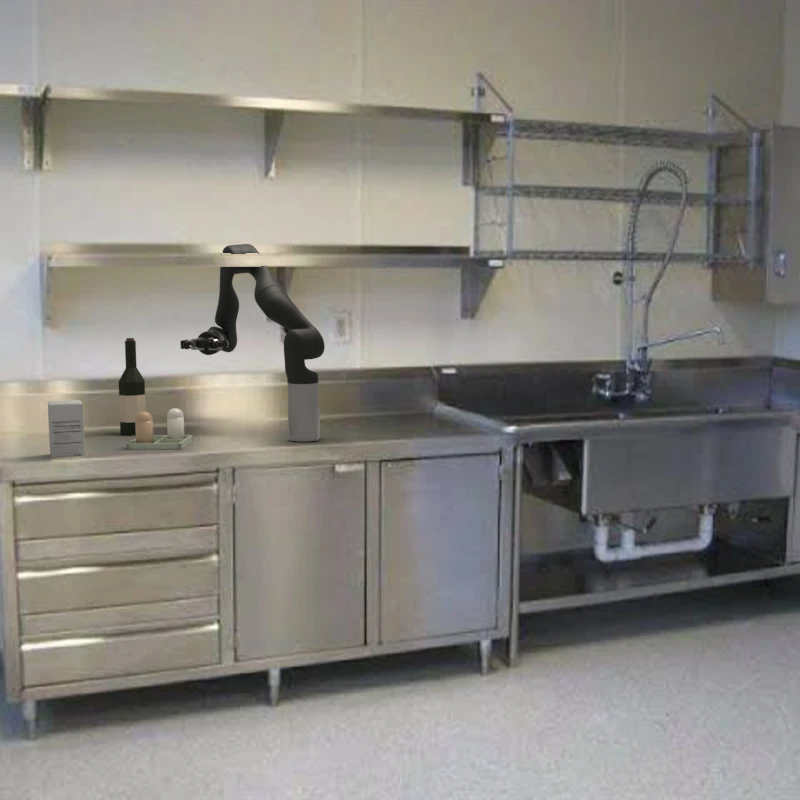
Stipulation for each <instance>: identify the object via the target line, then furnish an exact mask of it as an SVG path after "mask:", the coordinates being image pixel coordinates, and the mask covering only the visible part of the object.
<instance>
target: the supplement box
mask: <svg viewBox="0 0 800 800" xmlns="http://www.w3.org/2000/svg"><path fill="white" fill-rule="evenodd" d="M47 417H48V437H49V438H48V439H49V440H48V441H49V453H50V457H51V459H53V458H59V457H60V458H61V457H75V456H76V457H77V456H78V457H79V456H85V455H86V448H85V423H84V422H85V421H84V403H83V402H82V401H81V399H73V400H72V399H71V400H50V401H47Z"/></svg>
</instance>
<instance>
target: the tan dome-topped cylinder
mask: <svg viewBox="0 0 800 800" xmlns="http://www.w3.org/2000/svg"><path fill="white" fill-rule="evenodd" d="M135 428H136V436H135V438H136V443H153V435H154V422H153V416H152V414H151V413H149V411H142V412H140V413H138V414H137V415H136V418H135Z"/></svg>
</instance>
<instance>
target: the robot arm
mask: <svg viewBox="0 0 800 800" xmlns="http://www.w3.org/2000/svg"><path fill="white" fill-rule="evenodd" d="M221 252H223V253H231V254H246V253H258V254H260V252H259V251H258V249H257V248H256V247H255V246H254V245H252V244H249V243H241V244H229V245H226V246H225V247H224V248H223V250H222V251H221ZM266 266H267V265H266ZM266 266H261V267H219V293H218V300H217V301H218V303H217V306H216V311H215V316H214V322H215V324H216V325H217V326H215V325H214V326H211V327H209V328H208V330H207V331H204V332H201V333H200V334H199V335H198V337H197V338H191V339H190V340H189V339H183V340H180V341H179V342H180V349H182V350H189V349H191V350H192V351H197V350H198V351H199V352H200V353H201V354H202V355H206V356H211V355H214V354H217V353H219V352H220V351H223V352H225V353H231V352H233V351H234V350H235V349H236V347H237V345H238V334H237V332H238V331H237V320H238V314H239V310H240V301H239V298H238V295H237V292H236V291H235V288H234V285H233V280H234V276H235V275H241V274H249V275H251V277H252V278H253V279H254V281H255V286H254V293H253V294H254V300H255V302H256V305H257V306H258V307H259V309H260V310H261V311H262V313H263V314H264V315H265V316H266V317H267V318H268V319H269V320H271V321H273V322H274V323H276V324H278V325H279V326H281V327H283V328H285V329H286V330H287V332H286V334H285V335H284V339H283V354H284V355H283V356H284V371H285V374H286V378H287V379H286V381H287V382H286V383H287V422H288V423H287V424H288V425H287V430H288V432H287V433H288V434H287V435H288V441H291V442H315V441H316V442H318V441H319V440H320V438H321V409H320V403H319V401H320V400H319V397H320V395H319V391H320V390H319V375H318V373H317V372H315V371H313V370H311V369H309V368H308V367H307V366H306V362H305V361H306V360H314V359H318V358H320V357H321V356H322V355H323V354H324V352H325V348H326V347H325V340H324V338H323V336H322V334H321V332H320V331H319V330H318V329H317V327H315V326H314V325H313V324H312V322H311V321H309V319H308V318H306V316H305V315H304V314H303V313H302V312H301V311H300V309H299V308H298V307H297V305H296V304H295V303H294V302H293V301H292V299H291V298H290V296H289V295H288V293H287V292H286V290H284V288H283V286H281V285H280V283H279V282H278V281H277V279H276V278H275V277H274V275H273V273H272V272H271V271H270V269H269V268H268V266H267V267H266Z"/></svg>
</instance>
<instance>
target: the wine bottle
mask: <svg viewBox="0 0 800 800" xmlns="http://www.w3.org/2000/svg"><path fill="white" fill-rule="evenodd" d="M136 345H137V342H136V340H135V338H134V337H126V339H125V341H124V352H125V369H124V371H123V372H122V374H121V377H120V378H119V380H118V399H119V400H118V401H119V402H118V404H119V405H118V406H119V427H120V434H119V435H120V436H124V437H126V436H127V437H133V436H132V435H136V428H135V418H136V415H137V414H138V413H140V412H142V411H146V410H147V409H146V407H147V406H146V384H145V383H146V382H145V379H144V377H143V375H142V374H141V372H140V371H139V369H138V367H137V366H138V365H137V347H136ZM146 412H147V411H146Z"/></svg>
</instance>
